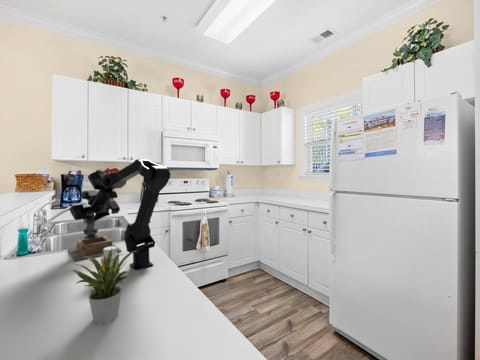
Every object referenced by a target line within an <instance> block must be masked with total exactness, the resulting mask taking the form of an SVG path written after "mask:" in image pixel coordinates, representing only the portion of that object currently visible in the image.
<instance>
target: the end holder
mask: <svg viewBox="0 0 480 360" xmlns="http://www.w3.org/2000/svg"><path fill="white" fill-rule="evenodd" d="M111 246H115V247H117V253H118V254H119V253H121V252H122V249H120V248H119V247H118V246H117V245H116V244H114V243H113V240H112V239H111V238H109V237H108V236H107V235H101V236H98V237H97V238H93V239H84V238H83V239H82V238H81V239H77V240H76V247H70V248H68V250H67V251H68V252H69V254H70V256H71V258H72V259H73V261H74V262H75V263H76V262H81V261H85V260H89V259H88V258H87V257H84V256H88V255H89V256H88V257H91V258H94V259H96V258H98V257H102V255H103V254H104V253H103V249H104V248H106V247H111Z"/></svg>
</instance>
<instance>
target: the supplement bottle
mask: <svg viewBox="0 0 480 360" xmlns="http://www.w3.org/2000/svg"><path fill="white" fill-rule="evenodd" d="M115 246H116V245H115ZM115 246H111V247H106V248H104V249H103V253H104V255H105V256H106V259H107V256H108V253H109V251H110V250H111V249H113V250H112V257H111V261H110V266H111V265H113V262H114V259H115V257H116V255H118V254H119V253H117V247H118V246H117V247H115ZM119 255H120V254H119ZM119 255H118V256H119ZM100 257H101V258H100V259H101V261H100V263H101V264H100V265H101V267H102V269H103V271H104V272H105V268H104V256H103V255H102V256H100ZM119 263H120V256H119V257H118V259H117V261H116V265H115V269H114V273H115V271H116V269H117V267H118V265H119ZM119 274H120V271H119V272H118V274H117V275H116V277H117V276H118V275H119ZM116 277H115V278H116Z"/></svg>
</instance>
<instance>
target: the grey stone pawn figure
mask: <svg viewBox="0 0 480 360" xmlns="http://www.w3.org/2000/svg"><path fill="white" fill-rule="evenodd" d="M91 216H92V219H90V220H89V221H88V222H87V223H86V226H85V227H86V228H84V229H82V231H83V233H84V235H85V237H83V239H93V238H97V237H99V236H98V235H97V233H98V231H99V227H96V221H95V220H94V216H95V213H92V215H91Z"/></svg>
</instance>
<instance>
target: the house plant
mask: <svg viewBox="0 0 480 360" xmlns="http://www.w3.org/2000/svg"><path fill="white" fill-rule="evenodd" d="M112 250H113V249H111V250H110V251H109V253H108V256H107V259H106V256H105V255H104V254H103V256H104V268H105V272H104V271H103V269H102V267H101V264H100V263H101V262H99V261H98V260H97V259H96V258H91V257H88V256H89V255H88V256H84V257H87V258H88V259H87V260H89V261H90V262H91V263H93V265H94V267H95V269H96V271H95V270H94V271H93V270H91V269H89V268H88V267H87V266H84V265H82V264H78V263H74V265H75V266H76V265H77V266H78V267H81V268H83V269H85V270H86V272H89V273H90V274H91V275H92V276H93V277H94V278H93V277H92V276H91V275H88V274H86V273H84V272H82V271H81V270H76V269H72V272H74V273H75V274H76V275H77V276H78V277H79V278H80V279H81V280H78V281H77V282H76V283H75V285H76V284H79V283H86V285H85V284H84V287H93V289H92V290H91V291H90V293H89V294H88V303H89V306H90V309H91V315H92V319H93V322H94V323H95V324H96V323H105V324H107V323H106V322H108V323H110V322H109V321H111V322H113V321H114V320H115V319H117V318H118V316H119V311H120V303H121V297H122V287H121V286H119V285H118V284H119V283H120V284H121V285H123V282H124V280H126V279H127V278H129V276H127V275H125V274H128V273H130V274H131V272H130V271H127V270H123V271H121V269H122V268H123V267H124V266H125V264H126V263H127V261H126V259H127V258H129V257H130V256H131V255H133V253H134V252H136V251H133V252H131V253H129V252H128V254H125V256H124V257H122V259H121V260H120V261H119V265H118V267H117V269H116V271H115V273H114V269H115V265H116V261H117V259H118V257H119V258H120V256H123V255H124V253H122V254H119V253H118V255H119V256H118V255H116V257H115V259H114V262H113V265H111V266H110V261H111V257H112ZM137 251H138V250H137ZM125 261H126V262H125ZM120 271H121V272H120ZM118 272H119V275H118V276H117V277H116V275H117V274H118ZM114 318H115V319H114ZM113 319H114V320H113Z"/></svg>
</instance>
